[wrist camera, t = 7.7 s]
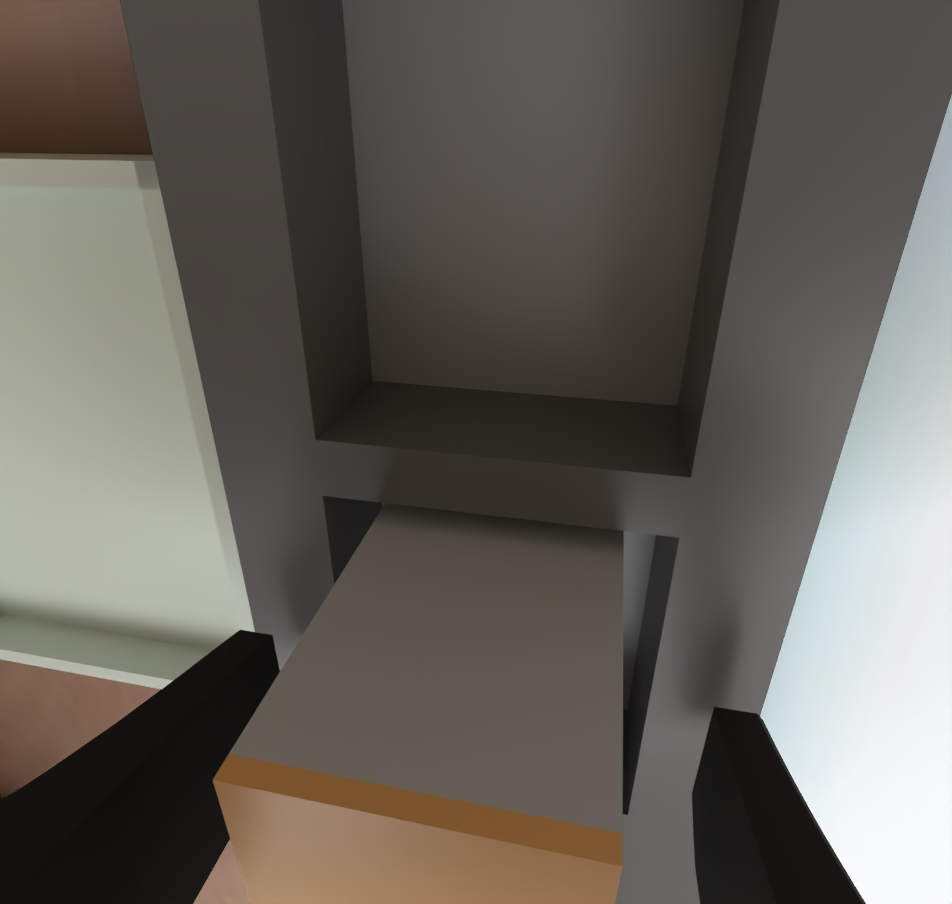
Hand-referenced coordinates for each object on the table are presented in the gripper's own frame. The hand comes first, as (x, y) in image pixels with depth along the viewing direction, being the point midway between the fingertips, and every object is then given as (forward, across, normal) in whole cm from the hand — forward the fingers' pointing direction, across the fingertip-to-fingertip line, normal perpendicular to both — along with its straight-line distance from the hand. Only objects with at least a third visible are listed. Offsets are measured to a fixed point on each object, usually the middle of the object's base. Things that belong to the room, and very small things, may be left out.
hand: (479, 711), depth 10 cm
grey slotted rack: (+4, 0, 0) cm, 4 cm away
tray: (+4, +10, -2) cm, 11 cm away
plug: (+3, 0, 0) cm, 3 cm away
